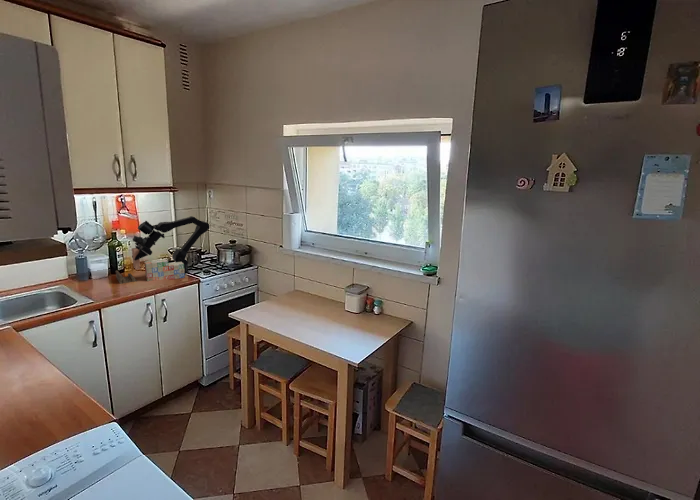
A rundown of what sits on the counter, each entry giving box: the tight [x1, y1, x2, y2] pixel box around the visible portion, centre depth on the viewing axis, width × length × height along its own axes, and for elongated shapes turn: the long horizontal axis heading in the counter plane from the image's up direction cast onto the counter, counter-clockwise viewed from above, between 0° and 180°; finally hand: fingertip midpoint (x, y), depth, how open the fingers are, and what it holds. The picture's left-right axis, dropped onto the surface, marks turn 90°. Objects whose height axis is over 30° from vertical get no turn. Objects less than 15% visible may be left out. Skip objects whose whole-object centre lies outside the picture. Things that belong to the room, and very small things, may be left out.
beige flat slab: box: [131, 247, 141, 271], centre depth 228 cm, size 2×6×12 cm, turn 41°
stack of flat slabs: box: [115, 270, 138, 285], centre depth 226 cm, size 9×12×6 cm
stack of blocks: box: [143, 258, 186, 282], centre depth 233 cm, size 21×6×12 cm, turn 127°
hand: (133, 258), depth 227 cm, fingers closed on beige flat slab, 6 cm apart
